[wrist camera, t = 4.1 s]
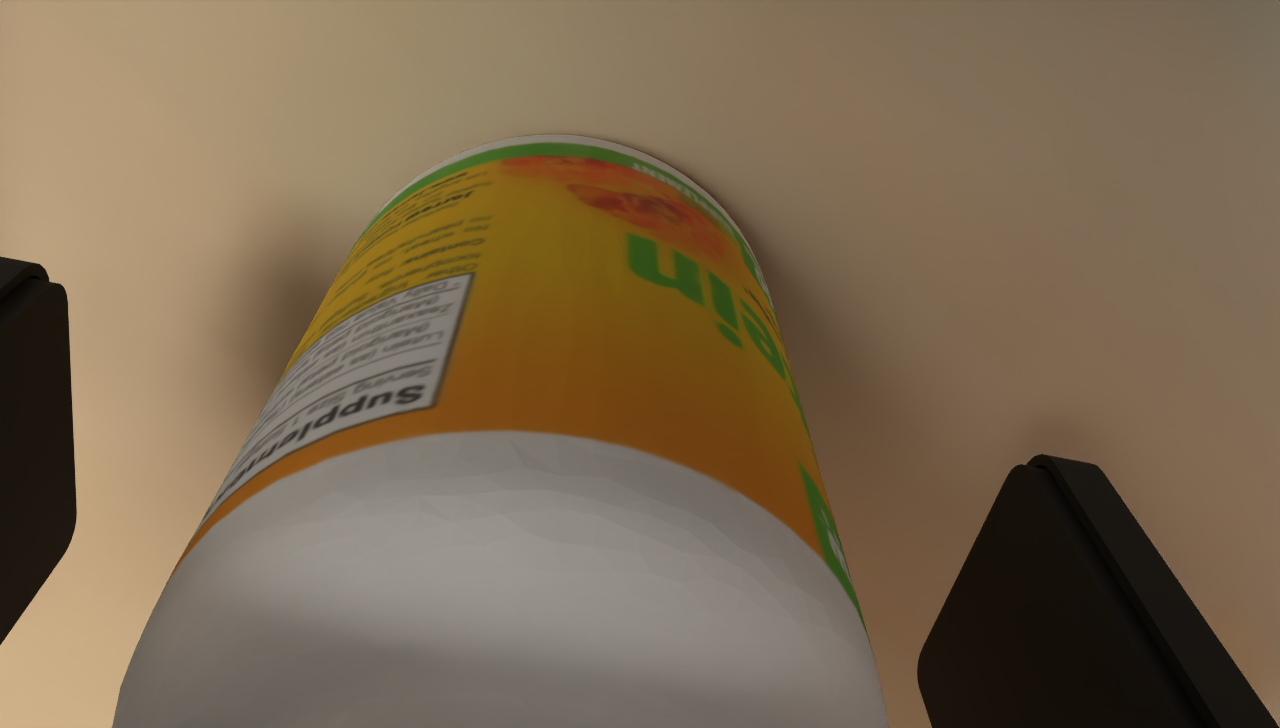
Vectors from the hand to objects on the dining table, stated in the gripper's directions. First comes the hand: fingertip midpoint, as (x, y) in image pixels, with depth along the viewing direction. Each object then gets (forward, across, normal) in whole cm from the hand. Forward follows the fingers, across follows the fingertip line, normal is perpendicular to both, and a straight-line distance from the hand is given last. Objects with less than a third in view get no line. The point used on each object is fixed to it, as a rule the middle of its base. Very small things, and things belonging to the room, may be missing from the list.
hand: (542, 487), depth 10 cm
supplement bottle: (+3, 0, 0) cm, 3 cm away
